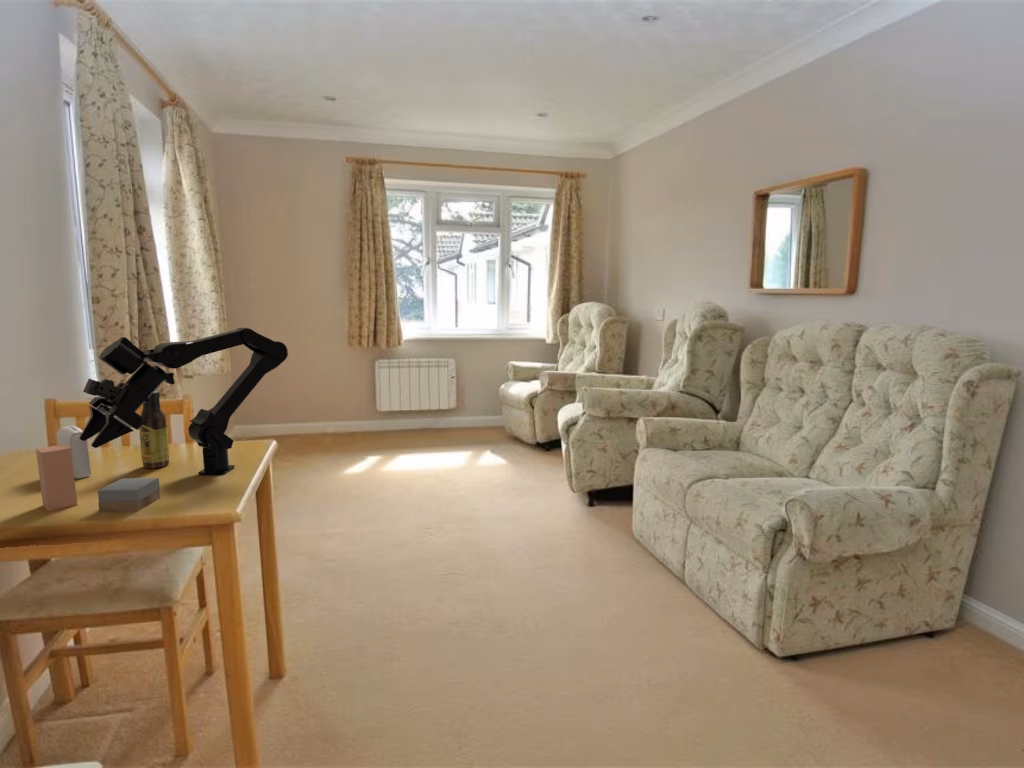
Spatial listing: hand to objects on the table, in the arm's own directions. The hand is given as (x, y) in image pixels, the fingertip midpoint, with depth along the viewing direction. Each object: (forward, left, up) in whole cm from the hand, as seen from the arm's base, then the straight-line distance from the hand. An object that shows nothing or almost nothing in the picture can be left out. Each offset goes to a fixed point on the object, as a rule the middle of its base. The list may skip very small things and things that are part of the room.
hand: (87, 443), depth 130 cm
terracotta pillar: (+4, -4, -12) cm, 14 cm away
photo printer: (-18, -16, -13) cm, 27 cm away
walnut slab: (+4, +11, -13) cm, 17 cm away
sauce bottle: (-25, 0, -13) cm, 28 cm away
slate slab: (+4, +11, -10) cm, 16 cm away
